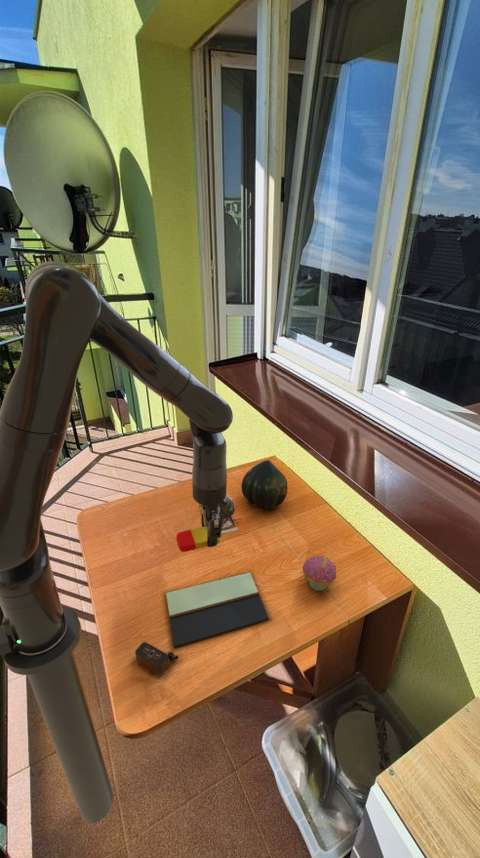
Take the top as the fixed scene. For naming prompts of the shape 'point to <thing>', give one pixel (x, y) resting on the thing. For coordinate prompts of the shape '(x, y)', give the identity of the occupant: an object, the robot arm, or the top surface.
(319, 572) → the cupcake
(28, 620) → the robot arm
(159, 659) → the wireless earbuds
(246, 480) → the squash
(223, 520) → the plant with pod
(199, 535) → the popsicle
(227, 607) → the sorting mat
